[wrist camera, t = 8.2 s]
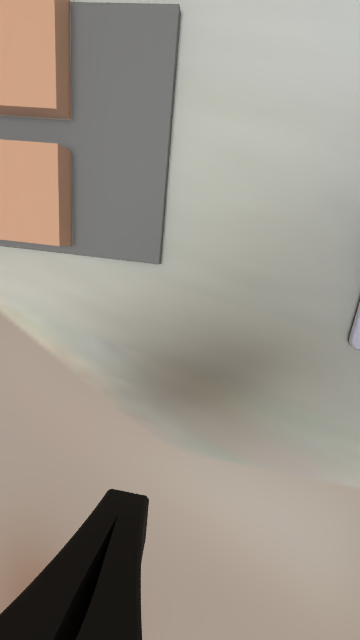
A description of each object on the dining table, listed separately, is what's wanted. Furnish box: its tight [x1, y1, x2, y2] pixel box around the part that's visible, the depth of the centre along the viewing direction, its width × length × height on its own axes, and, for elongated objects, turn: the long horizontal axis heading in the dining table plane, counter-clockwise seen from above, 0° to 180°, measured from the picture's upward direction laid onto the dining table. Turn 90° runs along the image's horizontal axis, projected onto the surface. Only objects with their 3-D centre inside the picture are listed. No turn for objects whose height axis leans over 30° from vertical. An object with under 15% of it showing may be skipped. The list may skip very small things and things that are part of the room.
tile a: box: [0, 0, 71, 121], centre depth 14 cm, size 2×5×6 cm
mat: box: [0, 2, 181, 264], centre depth 16 cm, size 12×12×1 cm
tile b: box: [0, 139, 73, 246], centre depth 16 cm, size 2×5×6 cm
